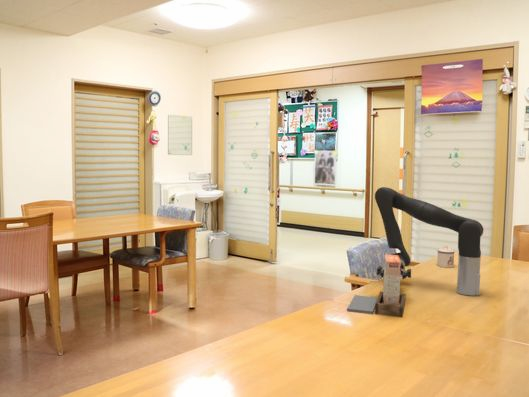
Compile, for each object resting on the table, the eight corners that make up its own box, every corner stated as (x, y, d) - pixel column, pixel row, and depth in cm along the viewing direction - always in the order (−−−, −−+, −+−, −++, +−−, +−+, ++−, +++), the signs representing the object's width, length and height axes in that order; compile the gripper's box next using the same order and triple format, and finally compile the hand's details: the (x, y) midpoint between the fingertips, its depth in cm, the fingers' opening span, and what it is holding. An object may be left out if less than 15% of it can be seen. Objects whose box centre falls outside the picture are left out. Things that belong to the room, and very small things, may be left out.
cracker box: (399, 314, 190) (401, 261, 188) (383, 313, 191) (385, 261, 189) (397, 303, 203) (399, 254, 201) (382, 302, 205) (384, 253, 203)
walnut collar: (405, 303, 204) (405, 294, 204) (402, 317, 187) (402, 306, 186) (379, 300, 208) (380, 291, 207) (374, 313, 190) (375, 303, 190)
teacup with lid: (450, 268, 268) (451, 248, 267) (434, 266, 274) (435, 245, 273) (458, 265, 277) (459, 245, 276) (442, 262, 283) (443, 243, 282)
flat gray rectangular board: (378, 299, 209) (378, 297, 208) (372, 314, 190) (372, 311, 190) (354, 297, 212) (354, 294, 212) (347, 311, 193) (347, 308, 193)
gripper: (380, 257, 221) (375, 265, 206) (412, 260, 216) (410, 268, 201) (379, 274, 222) (375, 282, 206) (412, 277, 217) (410, 286, 202)
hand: (392, 275), depth 204 cm, fingers open, 8 cm apart
